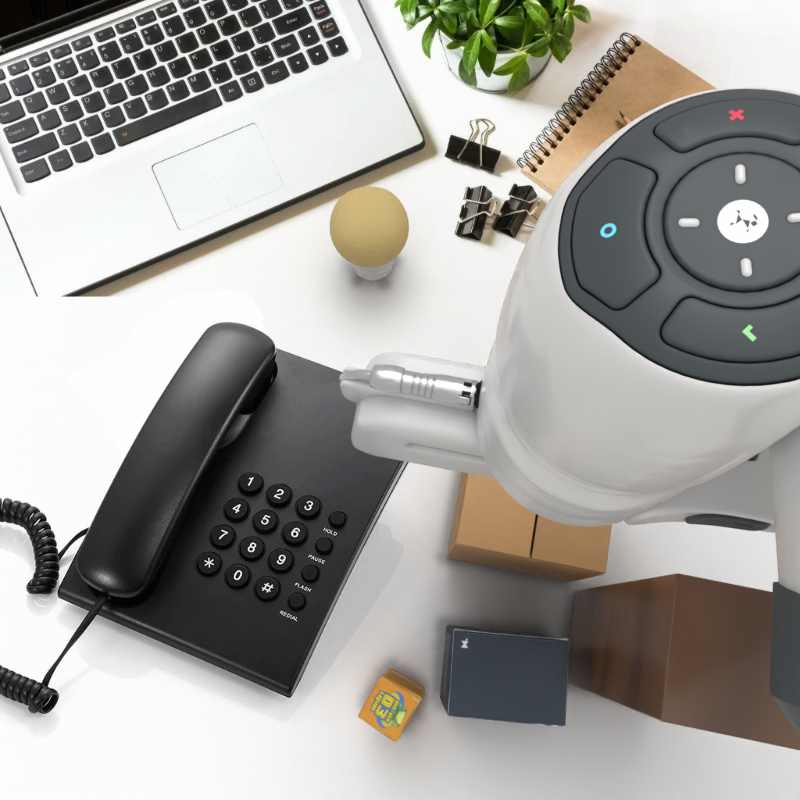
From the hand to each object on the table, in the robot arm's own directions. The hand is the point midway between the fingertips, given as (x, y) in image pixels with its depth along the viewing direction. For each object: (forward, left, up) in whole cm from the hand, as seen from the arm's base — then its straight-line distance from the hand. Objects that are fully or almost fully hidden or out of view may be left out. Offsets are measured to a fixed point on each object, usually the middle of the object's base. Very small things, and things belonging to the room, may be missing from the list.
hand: (539, 472), depth 45 cm
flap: (+1, 0, -9) cm, 9 cm away
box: (-1, +12, -21) cm, 24 cm away
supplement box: (+6, +15, -21) cm, 26 cm away
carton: (-1, 0, -21) cm, 21 cm away
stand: (-10, +8, -21) cm, 25 cm away
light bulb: (+15, -20, -21) cm, 32 cm away
